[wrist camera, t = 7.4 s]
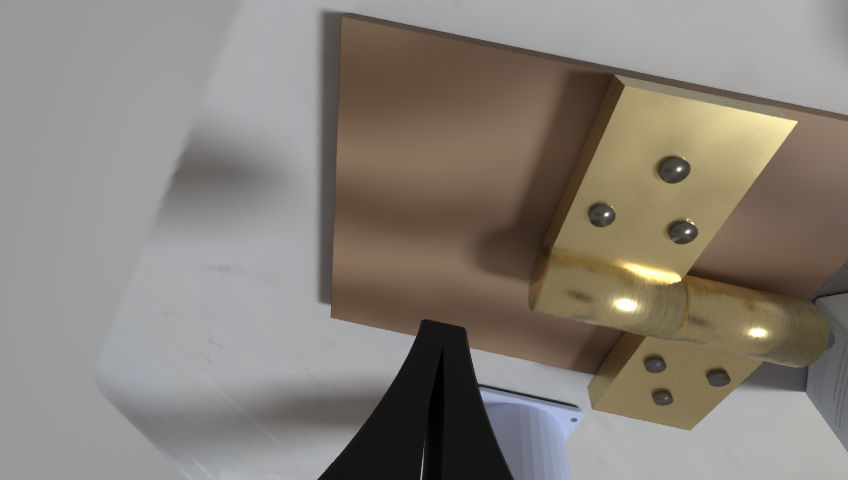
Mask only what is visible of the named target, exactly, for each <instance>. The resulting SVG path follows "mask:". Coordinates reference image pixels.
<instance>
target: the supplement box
mask: <svg viewBox="0 0 848 480" xmlns="http://www.w3.org/2000/svg"><path fill="white" fill-rule="evenodd" d="M815 305H816V306H817V307H818V308H819V309H820V310H821V311H822V312H823V314H824V316H825V318H826V320H827V323H828V327H829V330H831V331H832V332H833V334H834V336H835V343H834V345H833V347H832V348H830V349H828V350H825V351H824V353H823V354H822V356H821V357H820V358H819V359H818V360H817V361H816V362H814V363H813V364H811V365H809V368H808V378H807V388H806V394H807V396H808V397H809V398H810V400H811V401H812V403H813V404H814V405H815V407H816V408H817V410H818V411H819V412H820V414H821V415H822V417H823V418H824V419H825V421H826V422H827V424H828V425H829V426H830V428H831V429H832V431H833V432H834V433H835V435H836V436H837V438H838V439H839V440H840V442H841V443H842V444H843V446H844V447H845V449H846V450H847V451H848V293H844V294H838V295H833V296H827V297H821V298H818V299H816V302H815Z"/></svg>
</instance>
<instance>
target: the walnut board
mask: <svg viewBox="0 0 848 480" xmlns="http://www.w3.org/2000/svg"><path fill="white" fill-rule="evenodd" d="M614 74H615V75H620V76H625V77H630V78H635V79H639V80H644V81H649V82H654V83H659V84H664V85H668V86H673V87H678V88H683V89H688V90H693V91H697V92H702V93H707V94H712V95H717V96H722V97H727V98H731V99H736V100H741V101H746V102H751V103H756V104H760V105H765V106H770V107H773V108H775V109H777V110H778V111H780V112H782V113H784V114H785V115H787V116H789V117H791V118H793V119H794V120H796V121H798V122H797V124H796V125H795V126H794V128H793V129H792V131H791V132H790V133H789V135H788V136H787V137H786V139H785V140H784V141H783V143H782V144H781V146H780V147H779V148H778V150H777V151H776V152H775V154H774V155H773V156H772V158H771V159H770V161H769V162H768V163H767V165H766V166H765V167H764V169H763V170H762V171H761V173H760V174H759V176H758V177H757V178H756V180H755V181H754V182H753V184H752V185H751V186H750V188H749V189H748V191H747V192H746V193H745V195H744V196H743V197H742V199H741V200H740V201H739V203H738V204H737V206H736V207H735V208H734V210H733V211H732V212H731V214H730V215H729V216H728V218H727V219H726V220H725V222H724V223H723V225H722V226H721V227H720V229H719V230H718V231H717V233H716V234H715V235H714V237H713V238H712V240H711V241H710V242H709V244H708V245H707V246H706V248H705V249H704V250H703V252H702V253H701V255H700V256H699V257H698V259H697V260H696V261H695V263H694V264H693V265H692V267H691V268H690V270H689V271H688V272H687V274H686V275H689V276H693V277H698V278H703V279H708V280H712V281H717V282H722V283H726V284H731V285H736V286H740V287H745V288H750V289H755V290H759V291H764V292H769V293H773V294H778V295H783V296H788V297H792V298H797V299H802V300H806V301H807V300H809V299H810V298H811V297H812V296H813V295H814V294H815V293H816V292H817V291H818V290H819V289H820V288H821V287H822V286H823V285H824V284H825V283H826V282H827V281H828V280H829V279H830V278H831V277H832V276H833V275H834V274H835V273H836V272H837V271H838V270H839V269H840V268H841V267H842V266H843V265H844V264H845V263H846V262H848V116H847V115H842V114H838V113H833V112H828V111H823V110H818V109H813V108H808V107H804V106H799V105H794V104H789V103H784V102H779V101H775V100H770V99H765V98H760V97H755V96H750V95H746V94H741V93H736V92H731V91H726V90H721V89H716V88H712V87H707V86H702V85H697V84H692V83H687V82H683V81H678V80H673V79H668V78H663V77H658V76H653V75H649V74H644V73H639V72H634V71H629V70H624V69H620V68H615V67H610V66H605V65H600V64H595V63H591V62H586V61H581V60H576V59H571V58H566V57H561V56H557V55H552V54H547V53H542V52H537V51H532V50H528V49H523V48H518V47H513V46H508V45H503V44H498V43H494V42H489V41H484V40H479V39H474V38H469V37H465V36H460V35H455V34H450V33H445V32H440V31H436V30H431V29H426V28H421V27H416V26H411V25H406V24H402V23H397V22H392V21H387V20H382V19H377V18H373V17H368V16H363V15H358V14H353V13H349V14H347V15H345V16H343V17H342V22H341V49H340V76H339V104H338V131H337V159H336V186H335V214H334V241H333V268H332V296H331V318H334V319H339V320H344V321H348V322H353V323H358V324H362V325H367V326H371V327H376V328H381V329H385V330H390V331H395V332H399V333H404V334H408V335H413V336H417V333H418V330H419V327H420V323H421V320H424V319H429V320H433V321H438V322H442V323H447V324H452V325H456V326H461V327H465V329H466V330H467V337H468V343H469V348H473V349H478V350H483V351H487V352H492V353H496V354H501V355H506V356H510V357H515V358H520V359H524V360H529V361H533V362H538V363H543V364H547V365H552V366H557V367H561V368H566V369H571V370H575V371H580V372H584V373H589V374H594V375H595V374H596V373H597V371H598V370H599V368H600V367H601V365H602V364H603V363H604V361H605V360H606V358H607V357H608V355H609V354H610V352H611V351H612V350H613V348H614V347H615V345H616V344H617V342H618V341H619V339H620V338H621V337H622V335H623V334H624V332H625V331H621V330H617V329H612V328H607V327H603V326H598V325H593V324H589V323H584V322H579V321H575V320H570V319H565V318H561V317H556V316H551V315H547V314H542V313H537V312H533V311H531V309H530V307H529V302H528V290H529V281H530V276H531V272H532V268H533V264H534V262H535V259H536V257H537V254H538V253H539V251H540V249H541V248H542V247H543V240H544V238H545V235H546V233H547V231H548V228H549V226H550V223H551V221H552V219H553V216H554V214H555V212H556V209H557V207H558V205H559V202H560V200H561V198H562V195H563V193H564V191H565V188H566V186H567V183H568V181H569V179H570V176H571V174H572V172H573V169H574V167H575V165H576V162H577V160H578V158H579V155H580V153H581V150H582V148H583V146H584V143H585V141H586V139H587V136H588V134H589V132H590V129H591V127H592V125H593V122H594V120H595V117H596V115H597V113H598V110H599V108H600V106H601V103H602V101H603V99H604V96H605V94H606V92H607V89H608V87H609V84H610V82H611V80H612V77H613V75H614Z"/></svg>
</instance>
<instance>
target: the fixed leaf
mask: <svg viewBox="0 0 848 480" xmlns="http://www.w3.org/2000/svg"><path fill="white" fill-rule="evenodd" d="M682 281H683V284H684V287H685V291H686V307H685V312H684V316H683V319H682V321H681V323H680V325H679V327H678V328H677V330H676V331H675V332H674V333H673V334H672V335H671V336H669V337H667V338H664V339H659V338H654V337H649V336H645V335H640V334H635V333H631V332H626V331H625V332H624V334H623V335H622V337H621V338H620V339H619V341H618V342H617V344H616V345H615V347H614V348H613V350H612V351H611V352H610V354H609V355H608V357H607V358H606V360H605V361H604V363H603V364H602V365H601V367H600V368H599V370H598V371H597V373H596V374H595V376H594V377H593V378H592V380H591V381H590V383H589V384H588V386H587V388H588V393H589V397H590V402H591V407H592V409H593V410H598V411H602V412H607V413H611V414H616V415H621V416H625V417H630V418H634V419H639V420H644V421H648V422H653V423H658V424H662V425H667V426H671V427H676V428H681V429H685V430H691V429H692V428H693V427H694V426H696V425H697V424H698V423H699V422H700V421H701V420H702V419H703V418H704V417H705V416H706V415H707V414H708V413H709V412H711V411H712V410H713V409H714V408H715V407H716V406H717V405H718V404H719V403H720V402H721V401H722V400H723V399H724V398H726V397H727V396H728V395H729V394H730V393H731V392H732V391H733V390H734V389H735V388H736V387H737V386H738V385H739V384H741V383H742V382H743V381H744V380H745V379H746V378H747V377H748V376H749V375H750V374H751V373H752V372H753V371H755V370H756V369H757V368H758V367H759V366H760V365H761V364H762V363H763V362H764V361H766V362H770V363H775V364H780V365H784V366H789V367H795V368H800V367H806V366H809V365H811V364H813V363H814V362H816V361H817V360H818V359H819V358H820V357H821V356H822V354H823V353H824V351H825V350H828V349H830V348H832V347H833V345H834V343H835V336H834V334H833V332H832V331H831V330H829V327H828V323H827V320H826V318H825V316H824V314H823V312H822V311H821V310H820V309H819V308H818V307H817V306H816V305H814V304H813V303H811V302H809V301H806V300H802V299H797V298H792V297H788V296H783V295H778V294H773V293H769V292H764V291H759V290H755V289H750V288H745V287H740V286H736V285H731V284H726V283H722V282H717V281H712V280H708V279H703V278H698V277H693V276H689V275H685V276H684V278H683V279H682Z"/></svg>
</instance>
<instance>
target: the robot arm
mask: <svg viewBox="0 0 848 480" xmlns="http://www.w3.org/2000/svg"><path fill="white" fill-rule="evenodd" d="M583 416H584V415H583V411H582V410H581V409H580V408H576V407H572V406H567V405H562V404H558V403H553V402H549V401H544V400H539V399H535V398H530V397H526V396H521V395H516V394H512V393H507V392H502V391H498V390H493V389H489V388H484V387H479V386H478V383H477V379H476V376H475V372H474V368H473V363H472V359H471V354H470V349H469V343H468V337H467V330H466V329H465V327H461V326H456V325H452V324H447V323H442V322H438V321H433V320H429V319H424V320H421V323H420V327H419V330H418V333H417V336H416V339H415V341H414V343H413V346H412V348H411V350H410V352H409V354H408V356H407V358H406V360H405V362H404V363H403V365H402V367H401V369H400V371H399V373H398V374H397V376H396V378H395V379H394V381H393V382H392V384H391V386H390V387H389V389H388V390H387V392H386V394H385V395H384V397H383V398H382V400H381V401H380V403H379V404H378V406H377V407H376V408H375V410H374V411H373V413H372V414H371V415H370V417H369V418H368V420H367V421H366V422H365V424H364V425H363V426H362V428H361V429H360V430H359V431H358V433H357V434H356V435H355V436H354V438H353V439H352V440H351V441H350V443H349V444H348V445H347V446H346V448H345V449H344V450H343V451H342V452H341V454H340V455H339V456H338V457H337V458H336V459H335V461H334V462H333V463H332V464H331V465H330V466H329V467H328V468H327V469H326V471H325V472H324V473H323V474H322V475H321V476H320V477H319V478H318V479H317V480H420V476H421V467H422V457H423V448H424V461H423V474H422V480H571V479H570V473H569V466H568V459H567V453H566V446H565V441H566V440H567V438H568V437H569V436H570V434H571V433H572V432H573V430H574V429H575V427H576V426H577V425H578V423H579V422H580V421H581V419H582V418H583ZM424 439H425V445H424Z"/></svg>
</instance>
